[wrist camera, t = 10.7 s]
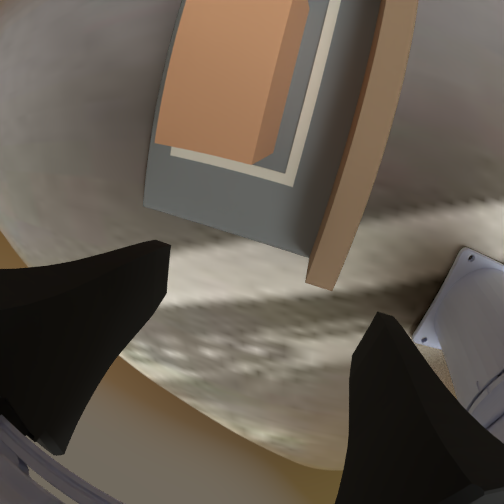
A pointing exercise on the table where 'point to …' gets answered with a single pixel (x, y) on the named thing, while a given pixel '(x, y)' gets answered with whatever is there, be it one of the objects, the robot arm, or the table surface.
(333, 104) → the arena
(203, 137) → the terracotta block
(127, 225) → the table surface
